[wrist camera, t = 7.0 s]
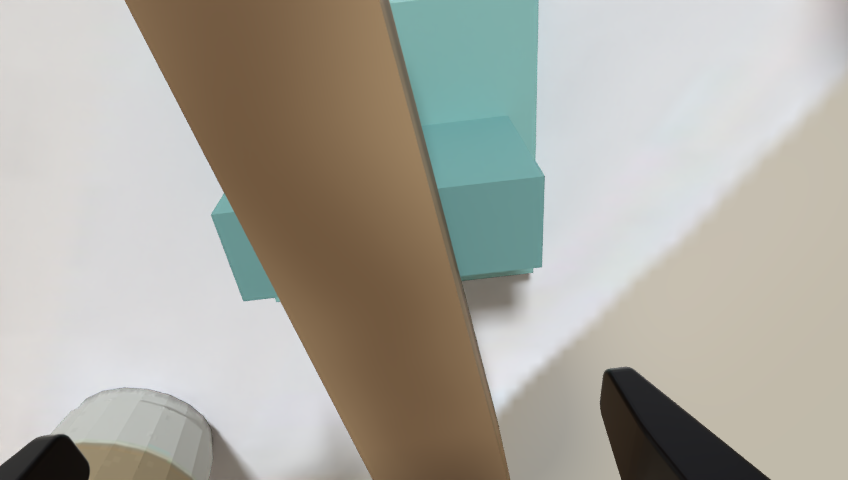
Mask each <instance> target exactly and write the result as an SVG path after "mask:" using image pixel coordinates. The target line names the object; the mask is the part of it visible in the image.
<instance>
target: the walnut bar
mask: <svg viewBox="0 0 848 480" xmlns="http://www.w3.org/2000/svg"><path fill="white" fill-rule="evenodd" d="M125 2H126V4H127V6H128V8H129V10H130V12H131V14H132V16H133V18H134V19H135V21H136V23H137V25H138V27H139V29H140V31H141V33H142V35H143V37H144V39H145V41H146V43H147V45H148V46H149V48H150V50H151V52H152V54H153V56H154V58H155V60H156V62H157V64H158V66H159V68H160V70H161V72H162V74H163V75H164V77H165V79H166V81H167V83H168V85H169V87H170V89H171V91H172V93H173V95H174V97H175V99H176V101H177V102H178V104H179V106H180V108H181V110H182V112H183V114H184V116H185V118H186V120H187V122H188V124H189V126H190V128H191V130H192V131H193V133H194V135H195V137H196V139H197V141H198V143H199V145H200V147H201V149H202V151H203V153H204V155H205V157H206V159H207V160H208V162H209V164H210V166H211V168H212V170H213V172H214V174H215V176H216V178H217V180H218V182H219V184H220V186H221V187H222V189H223V191H224V193H225V195H226V197H227V199H228V201H229V203H230V205H231V207H232V209H233V211H234V213H235V215H236V216H237V218H238V220H239V222H240V224H241V226H242V228H243V230H244V232H245V234H246V236H247V238H248V240H249V242H250V244H251V245H252V247H253V249H254V251H255V253H256V255H257V257H258V259H259V261H260V263H261V265H262V267H263V269H264V271H265V272H266V274H267V276H268V278H269V280H270V282H271V284H272V286H273V288H274V290H275V292H276V294H277V296H278V298H279V300H280V301H281V303H282V305H283V307H284V309H285V311H286V313H287V315H288V317H289V319H290V321H291V323H292V325H293V327H294V328H295V330H296V332H297V334H298V336H299V338H300V340H301V342H302V344H303V346H304V348H305V350H306V352H307V354H308V356H309V357H310V359H311V361H312V363H313V365H314V367H315V369H316V371H317V373H318V375H319V377H320V379H321V381H322V383H323V385H324V386H325V388H326V390H327V392H328V394H329V396H330V398H331V400H332V402H333V404H334V406H335V408H336V410H337V412H338V413H339V415H340V417H341V419H342V421H343V423H344V425H345V427H346V429H347V431H348V433H349V435H350V437H351V439H352V441H353V442H354V444H355V446H356V448H357V450H358V452H359V454H360V456H361V458H362V460H363V462H364V464H365V466H366V468H367V469H368V471H369V473H370V475H371V477H372V479H373V480H510V476H509V472H508V467H507V463H506V458H505V453H504V449H503V444H502V439H501V435H500V430H499V425H498V421H497V417H496V414H495V410H494V406H493V402H492V398H491V394H490V390H489V386H488V382H487V379H486V375H485V371H484V367H483V363H482V359H481V355H480V351H479V348H478V344H477V340H476V336H475V332H474V328H473V324H472V320H471V316H470V313H469V309H468V305H467V301H466V297H465V293H464V289H463V285H462V282H461V278H460V274H459V270H458V266H457V262H456V258H455V254H454V250H453V247H452V243H451V239H450V235H449V231H448V227H447V223H446V219H445V215H444V212H443V208H442V204H441V200H440V196H439V192H438V188H437V184H436V181H435V177H434V173H433V169H432V165H431V161H430V157H429V153H428V149H427V146H426V142H425V138H424V134H423V130H422V126H421V122H420V118H419V114H418V111H417V107H416V103H415V99H414V95H413V91H412V87H411V83H410V80H409V76H408V72H407V68H406V64H405V60H404V56H403V52H402V48H401V45H400V41H399V37H398V33H397V29H396V25H395V21H394V17H393V13H392V10H391V6H390V2H389V0H125Z"/></svg>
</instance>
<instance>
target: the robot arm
mask: <svg viewBox="0 0 848 480" xmlns="http://www.w3.org/2000/svg"><path fill="white" fill-rule="evenodd" d="M600 409H601V415H602V418H603V421H604V425H605V428H606V431H607V434H608V437H609V441H610V444H611V447H612V451H613V454H614V457H615V460H616V464H617V467H618V470H619V474H620V476H621V480H770V479H769V478H768V477H767V476H766V475H764V474H763V473H762V472H761V471H759V470H758V469H757V468H756V467H754V466H753V465H752V464H751V463H749V462H748V461H747V460H745V459H744V458H743V457H742V456H741V455H739V454H738V453H737V452H736V451H734V450H733V449H732V448H731V447H729V446H728V445H727V444H726V443H725V442H723V441H722V440H721V439H720V438H718V437H717V436H716V435H715V434H713V433H712V432H711V431H710V430H708V429H707V428H706V427H705V426H703V425H702V424H701V423H700V422H698V421H697V420H696V419H695V418H693V417H692V416H691V415H690V414H689V413H687V412H686V411H685V410H684V409H682V408H681V407H680V406H679V405H677V404H676V403H675V402H673V401H672V400H671V399H670V398H669V397H667V396H666V395H665V394H664V393H662V392H661V391H660V390H659V389H657V388H656V387H655V386H654V385H653V384H651V383H650V382H649V381H648V380H646V379H645V378H644V377H643V376H641V375H640V374H639V373H638V372H636V371H635V370H634V369H632V368H630V367H619V368H611V369H607V370H606V371H605V372H604V374H603V381H602V389H601V397H600ZM89 476H90V465H89V462H88V460H87V459H86V458H85V456H84V455H83V454H82V452H81V451H80V450H79V449H78V447H77V446H76V445H75V443H74V442H73V441H72V439H71V438H70V437H69V436H67V435H65V434H54V435H46V436H41V437H38V438H36V439H34V440H33V441H31V442H30V443H29V444H27V445H26V446H25V447H24V448H22V449H21V450H20V451H19V452H17V453H16V454H15V455H13V456H12V457H11V458H10V459H8V460H7V461H6V462H5V463H3V464H2V465H1V466H0V480H89Z"/></svg>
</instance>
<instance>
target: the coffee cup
mask: <svg viewBox="0 0 848 480" xmlns="http://www.w3.org/2000/svg"><path fill="white" fill-rule="evenodd" d="M54 434H65V435H67V436H69V437H70V438H71V439H72V441H73V442H74V443H75V445H76V446H77V447H78V449H79V450H80V451H81V452H82V454H83V455H84V456H85V458H86V459H87V460H88V462H89V465H90V476H89V480H209V478H210V472H211V467H212V461H213V454H212V444H213V440H212V431H211V428H210V427H209V425H208V423H207V422H206V420H205V418H204V417H203V416H202V415H201V414H200V413H199V412H197V411H196V410H195V409H194V408H193V407H191V406H190V405H189V404H187V403H185V402H183V401H181V400H179V399H177V398H175V397H173V396H171V395H168V394H164V393H160V392H156V391H152V390H148V389H136V388H119V389H113V390H107V391H102V392H100V393H98V394H96V395H93V396H91V397H89V398H87V399H86V400H85V401H84V402H83V403H82V404H81V405H80V406H79V407H78V408H77V409H75V410H73V411H71V412H70V413H69V414H68V415H67V416H66V417H65V418H64V420H63V421H62V422H61V423H60V424H59V425H58V426H57V427H56V429H55V430H54V431H53V432H52V433H51V434H50V435H54Z"/></svg>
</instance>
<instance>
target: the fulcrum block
mask: <svg viewBox="0 0 848 480" xmlns="http://www.w3.org/2000/svg"><path fill="white" fill-rule="evenodd" d="M389 2H390V6H391V10H392V13H393V17H394V21H395V25H396V29H397V33H398V37H399V41H400V45H401V48H402V52H403V56H404V60H405V64H406V68H407V72H408V76H409V80H410V83H411V87H412V91H413V95H414V99H415V103H416V107H417V111H418V114H419V118H420V122H421V126H422V130H423V134H424V138H425V142H426V146H427V149H428V153H429V157H430V161H431V165H432V169H433V173H434V177H435V181H436V184H437V188H438V192H439V196H440V200H441V204H442V208H443V212H444V215H445V219H446V223H447V227H448V231H449V235H450V239H451V243H452V247H453V250H454V254H455V258H456V262H457V266H458V270H459V274H460V278H461V281H465V280H474V279H483V278H492V277H500V276H509V275H518V274H526V273H533V268H539V267H542V246H543V214H544V182H545V176H544V174H543V173H542V171H541V169H540V168H539V166H538V164H537V163H536V161H535V150H536V99H537V49H538V0H389ZM211 216H212V219H213V222H214V224H215V227H216V230H217V232H218V235H219V237H220V240H221V243H222V245H223V248H224V251H225V253H226V256H227V259H228V261H229V264H230V267H231V269H232V272H233V275H234V277H235V280H236V283H237V285H238V288H239V291H240V293H241V296H242V299H243V301H250V300H259V299H268V298H275V299H276V302H281V301H280V300H279V298H278V296H277V294H276V292H275V290H274V288H273V286H272V284H271V282H270V280H269V278H268V276H267V274H266V272H265V271H264V269H263V267H262V265H261V263H260V261H259V259H258V257H257V255H256V253H255V251H254V249H253V247H252V245H251V244H250V242H249V240H248V238H247V236H246V234H245V232H244V230H243V228H242V226H241V224H240V222H239V220H238V218H237V216H236V215H235V213H234V211H233V209H232V207H231V205H230V203H229V201H228V199H227V197H226V195H225V193H224V194H223V196H222V198H221V199H220V201H219V202H218V204H217V206H216V207H215V209H214V211H213V212H212V214H211Z"/></svg>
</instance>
